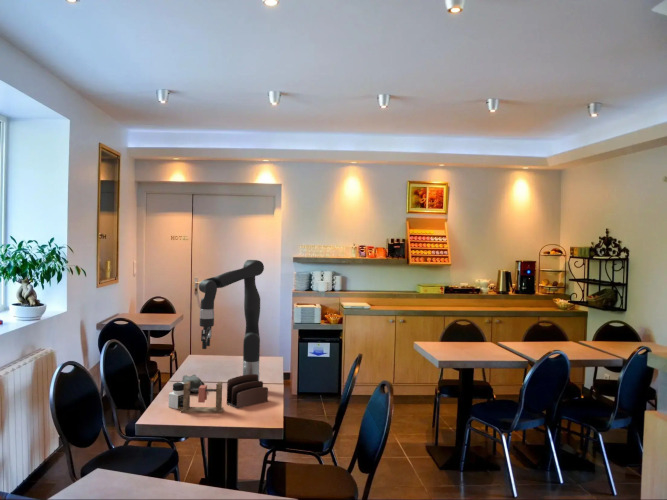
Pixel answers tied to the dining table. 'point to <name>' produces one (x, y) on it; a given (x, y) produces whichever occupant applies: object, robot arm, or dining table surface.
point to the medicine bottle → (176, 396)
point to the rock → (193, 382)
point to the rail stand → (189, 409)
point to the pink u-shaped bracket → (202, 394)
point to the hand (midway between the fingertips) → (206, 347)
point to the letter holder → (246, 391)
